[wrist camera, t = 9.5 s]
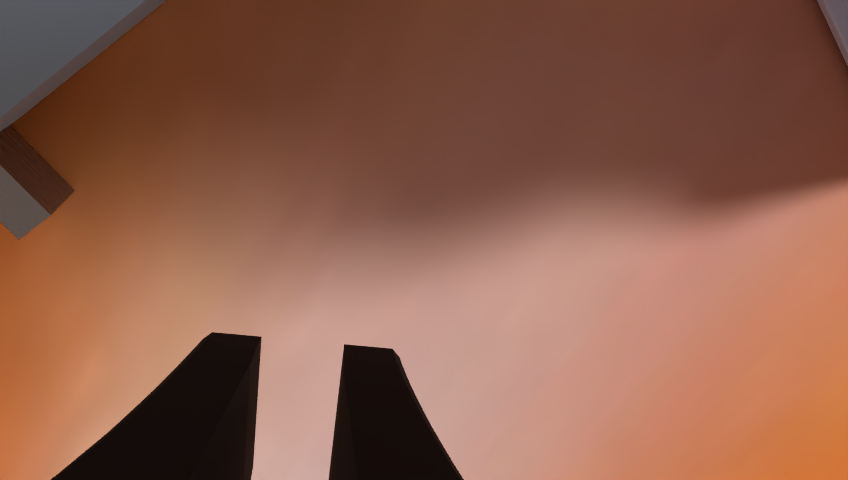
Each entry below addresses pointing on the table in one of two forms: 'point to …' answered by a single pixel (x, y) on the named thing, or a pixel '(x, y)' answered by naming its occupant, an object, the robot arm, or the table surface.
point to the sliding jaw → (55, 44)
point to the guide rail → (26, 185)
